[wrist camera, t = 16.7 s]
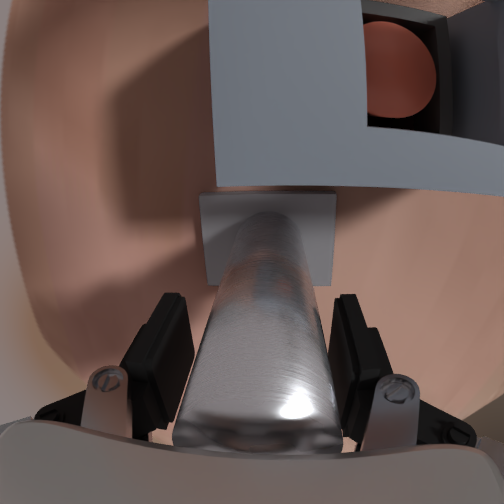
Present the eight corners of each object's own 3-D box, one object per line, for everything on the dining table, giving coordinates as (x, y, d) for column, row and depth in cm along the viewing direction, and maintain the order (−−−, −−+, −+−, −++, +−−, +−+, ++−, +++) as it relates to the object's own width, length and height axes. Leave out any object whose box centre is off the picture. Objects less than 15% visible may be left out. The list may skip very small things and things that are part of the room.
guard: (461, 30, 13) (564, 2, 4) (464, 160, 17) (571, 206, 8) (243, 6, 14) (207, -82, 5) (249, 149, 18) (216, 186, 9)
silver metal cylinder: (302, 211, 19) (357, 395, 6) (301, 273, 20) (330, 484, 7) (233, 212, 19) (154, 391, 6) (237, 274, 20) (188, 481, 7)
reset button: (410, 41, 13) (432, 30, 11) (413, 120, 15) (436, 123, 12) (328, 31, 14) (337, 15, 11) (331, 114, 16) (342, 113, 13)
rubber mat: (334, 191, 19) (336, 194, 18) (329, 279, 21) (330, 285, 20) (201, 192, 19) (198, 195, 19) (210, 279, 22) (207, 285, 21)
